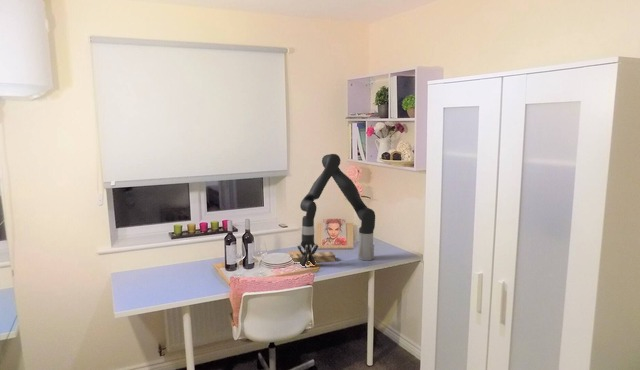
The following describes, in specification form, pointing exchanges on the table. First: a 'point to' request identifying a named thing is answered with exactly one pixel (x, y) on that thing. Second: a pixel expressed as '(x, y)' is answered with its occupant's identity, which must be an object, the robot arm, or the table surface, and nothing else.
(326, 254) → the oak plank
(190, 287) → the table surface
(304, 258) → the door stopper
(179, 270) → the table surface
